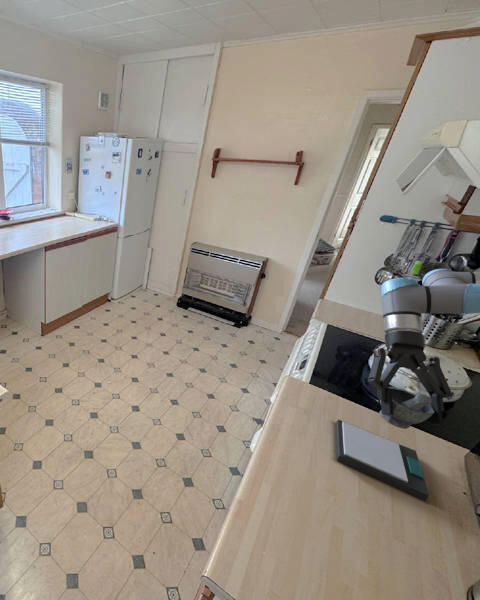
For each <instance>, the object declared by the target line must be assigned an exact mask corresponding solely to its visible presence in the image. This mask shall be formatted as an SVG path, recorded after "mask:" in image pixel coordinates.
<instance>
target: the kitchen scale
mask: <svg viewBox="0 0 480 600" xmlns="http://www.w3.org/2000/svg"><path fill="white" fill-rule="evenodd" d="M334 426H335V451H336V452H335V453H336V461H337V462H340V463H341V464H344V465H345V466H348V467H350V468H353V469H355V470H357V471H359V472H361V473H363V474H366V475H368V476H370V477H372V478H374V479H377V480H379V481H381V482H383V483H385V484H386V485H387V484H388V485H390V486H392V487H394V488H396V489H398V490H400V491H402V492H405V493H407V494H409V495H412V496H414V497H416V498H418V499H420V500H422V501H424V502H425V501H426V500H427V499H428V498H429V497H430V493H429V490H428V487H427V483H426V480H425V477H424V473H423V470H422V467H421V464H420V461H419V458H418V453H417V450H415V449H412V448H410V447H407V446H405V445H402V444H400V443H397V442H395V441H393V440H390V439H388V438H385V437H383V436H380V435H378V434H376V433H374V432H370V431H368V430H366V429H364V428H360V427H359V426H355V425H354V424H351V423H348V422H346V421H343V420H342V419H337V420H336V422H335V424H334Z"/></svg>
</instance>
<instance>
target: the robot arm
mask: <svg viewBox="0 0 480 600" xmlns="http://www.w3.org/2000/svg"><path fill="white" fill-rule="evenodd" d="M421 281H422V282H421V283H422V285H420V284H419V282H418V280H417V279H414V278H412V277H408V278H406V277H396V278H391V279H389V280H386V281H384V282H383V283H382V284H381V307H382V316H383V317H382V318H383V330H384V345H385V347H386V349H385V348H384V347H379V348H375V349H373V351H372V352H373V353H372V354H373V360H372V364H371V367H370V370H369V374H368V378H367V383H368V384H369V385H372V386H373V388H374V389H376V391H377V392H376V394H377V399H378V400H379V401H380V400H381V404H380V408H381V410H382V414H383V415H394V414H393V401H392V388H388V387H389V385H390V383H391V382H392V380H393V378H394V377H395V375H396V374H397V372H398V371H399V369H400V368H404V369H406V370H410V371H411V372H412V374H415V376H416V377H417V380H419V382H420V383H421V385H422V386H423V388H424V390H425V391H426V392H427V393H428V396H429V398H430V399H431V404H430V405H431V406H432V408H433V410H434V413H433V414H432V416H431V417H429V418H428V423H429V425H436V426H437V425H439V426H444V419H443V412H444V411H445V406H444V404H445V403H444V399H445V398H449V397H450V398H451V397H452V396H453V393H452V390H451V387H450V386H449V383H448V381H447V378H446V377H445V374H444V371H443V370H442V367H441V360H440V358H439V357H438V356H433V357H432V356H427V355H426V353H425V351H424V350H425V348H426V342H425V335H424V334H423V333H424V324H423V317H422V314H428V315H429V314H437V315H438V314H445V315H446V314H453V315H454V314H456V315H457V314H459V315H460V314H462V315H463V314H464V315H469V314H472V315H473V314H480V271H454V270H452V269H448V268H436V269H433V270H430V271H429V272H426V274H425V275H424V276H423V278H422V280H421ZM387 357H388V359H389V361H388V362H387V364H386V359H387ZM385 364H386V367H385ZM384 367H385V369H384Z"/></svg>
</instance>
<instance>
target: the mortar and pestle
mask: <svg viewBox="0 0 480 600" xmlns="http://www.w3.org/2000/svg"><path fill="white" fill-rule="evenodd" d="M387 388H392V401H393V414H394V415H383V414H382V409H381V410H379V416H380V418H382V419H383V420H384V421H385V422H386V423H388V424H390V425H392V426H394V427H396V428H400V429H404V430H407V429H409V428H410V427H411V426H412V425H417V424H420V423H423V422H425V421H427V420H429V417H431V416H432V414H433V413H434V410H433V408H432V406H431V405H430V404H431V399H430V398H429V397H430V395H427V394H425V393H418V394H415V393H413V392H410V391H408V390H406V389H404V388H400V387H394V386H387ZM379 404H380V405H381V400H379Z"/></svg>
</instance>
